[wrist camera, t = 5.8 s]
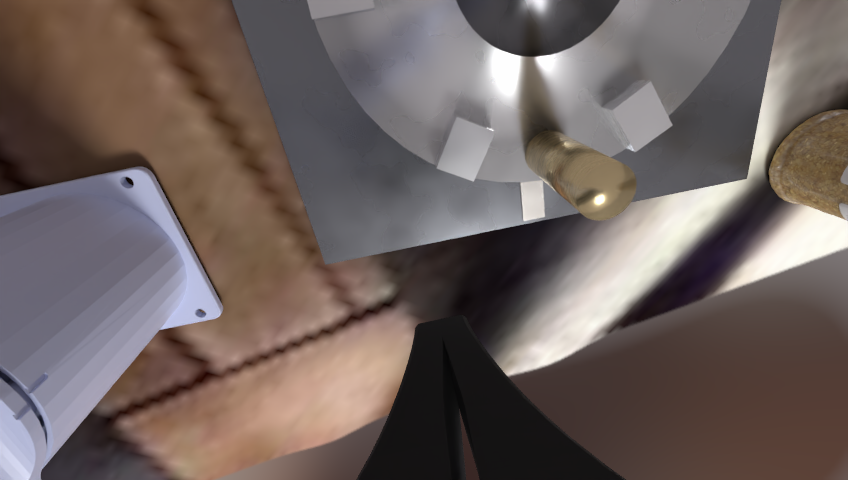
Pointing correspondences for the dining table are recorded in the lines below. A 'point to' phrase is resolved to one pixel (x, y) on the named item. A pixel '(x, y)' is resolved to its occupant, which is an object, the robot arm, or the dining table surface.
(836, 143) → the sprinkles bottle
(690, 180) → the base plate
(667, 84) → the tabbed hub disc
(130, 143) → the dining table surface
